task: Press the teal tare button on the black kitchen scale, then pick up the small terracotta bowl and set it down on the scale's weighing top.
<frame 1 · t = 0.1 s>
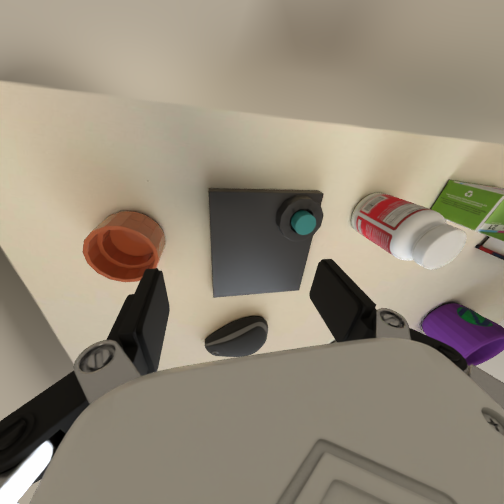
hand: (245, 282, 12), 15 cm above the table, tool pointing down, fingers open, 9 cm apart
computer mouse: (236, 332, 38), on the table
scale: (260, 245, 28), on the table
pill bottle: (368, 212, 29), on the table
bowl: (135, 236, 24), on the table
tare button: (303, 222, 24), point 3 cm above the table, slide at 0.1 cm
mug: (447, 313, 50), on the table
ink box: (459, 199, 31), on the table
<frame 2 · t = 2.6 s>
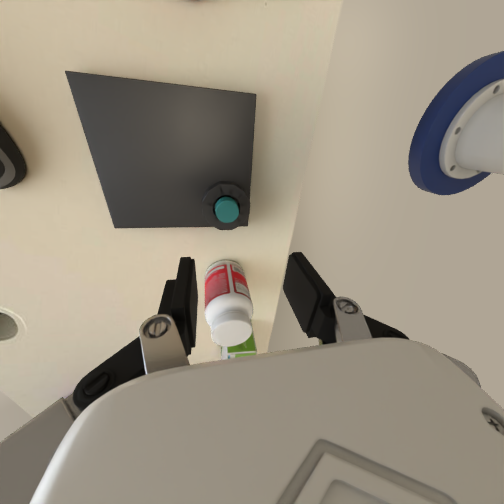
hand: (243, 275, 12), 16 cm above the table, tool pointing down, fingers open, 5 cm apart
scale: (180, 165, 22), on the table
pill bottle: (224, 273, 32), on the table
tare button: (226, 209, 23), point 3 cm above the table, slide at 0.1 cm
ink box: (234, 335, 40), on the table
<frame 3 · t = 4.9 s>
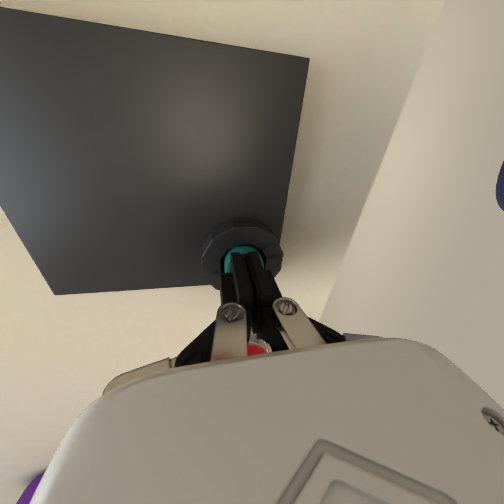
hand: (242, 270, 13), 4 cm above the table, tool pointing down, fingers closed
scale: (164, 191, 13), on the table
pill bottle: (234, 335, 22), on the table
tare button: (243, 263, 14), point 3 cm above the table, slide at -0.4 cm, touching gripper
mug: (78, 477, 35), on the table
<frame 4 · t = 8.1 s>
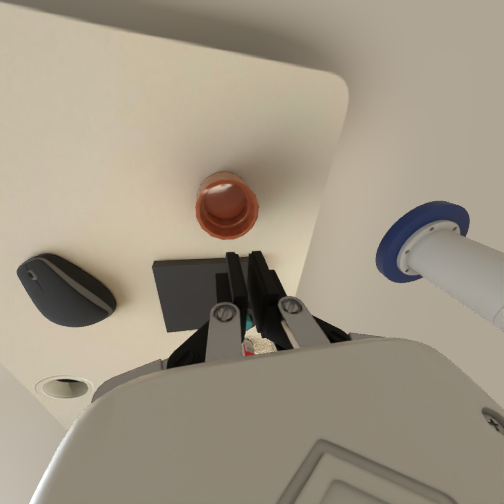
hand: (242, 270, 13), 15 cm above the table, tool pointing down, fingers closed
computer mouse: (76, 287, 28), on the table
scale: (212, 293, 33), on the table
bowl: (224, 199, 25), on the table
tare button: (243, 322, 33), point 3 cm above the table, slide at 0.1 cm
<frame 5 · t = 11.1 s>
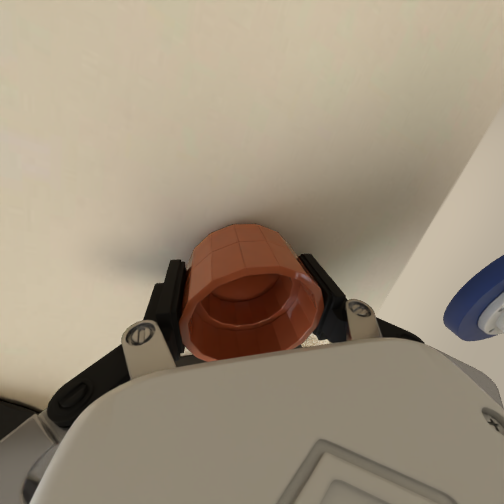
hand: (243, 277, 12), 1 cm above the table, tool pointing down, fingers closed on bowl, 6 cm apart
bowl: (241, 267, 13), on the table, touching gripper
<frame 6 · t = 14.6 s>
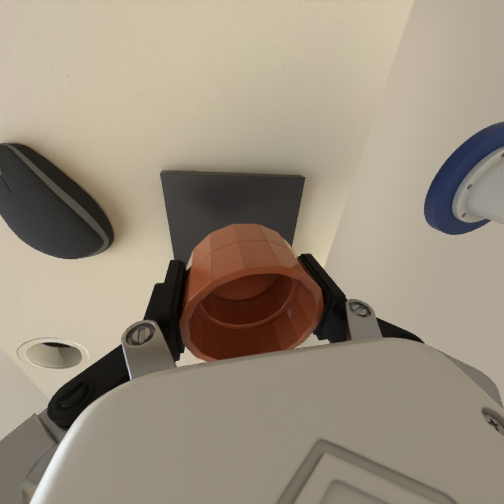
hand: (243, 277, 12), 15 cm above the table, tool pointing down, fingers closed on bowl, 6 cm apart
computer mouse: (60, 205, 21), on the table
scale: (235, 228, 26), on the table
bowl: (241, 267, 13), point 14 cm above the table, touching gripper
when the fingers open (2 cm above the table, at t = 18.0 s): bowl stays where it is, resting on scale.
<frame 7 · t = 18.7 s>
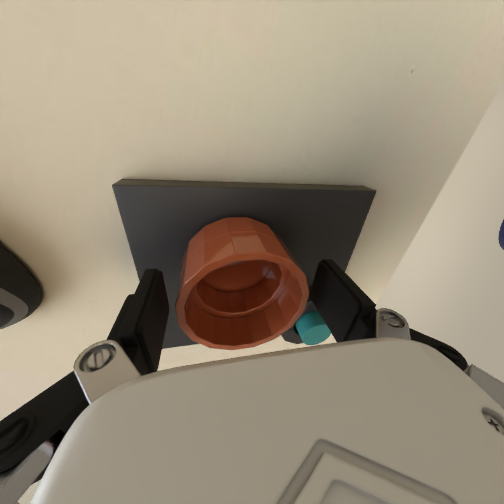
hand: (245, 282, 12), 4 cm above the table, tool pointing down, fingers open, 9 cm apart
scale: (250, 269, 16), on the table
bowl: (234, 259, 14), point 1 cm above the table, touching scale
tare button: (312, 327, 17), point 3 cm above the table, slide at 0.1 cm
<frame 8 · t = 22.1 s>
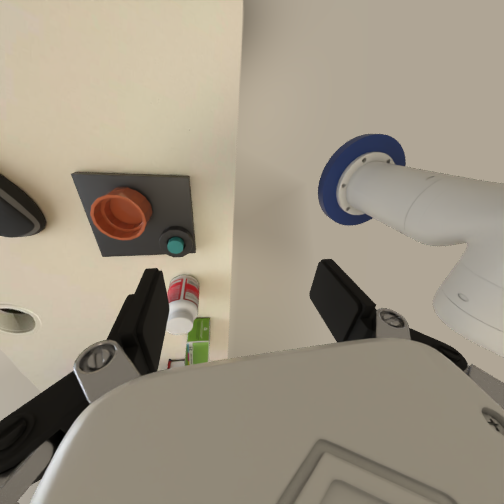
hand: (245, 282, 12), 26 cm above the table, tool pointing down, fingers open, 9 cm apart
computer mouse: (1, 197, 29), on the table
scale: (145, 216, 34), on the table
pill bottle: (185, 284, 44), on the table
bowl: (129, 208, 32), point 1 cm above the table, touching scale
tare button: (175, 245, 34), point 3 cm above the table, slide at 0.1 cm
ink box: (199, 330, 52), on the table
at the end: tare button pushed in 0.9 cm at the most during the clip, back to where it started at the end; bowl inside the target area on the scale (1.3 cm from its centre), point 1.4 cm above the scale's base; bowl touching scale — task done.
